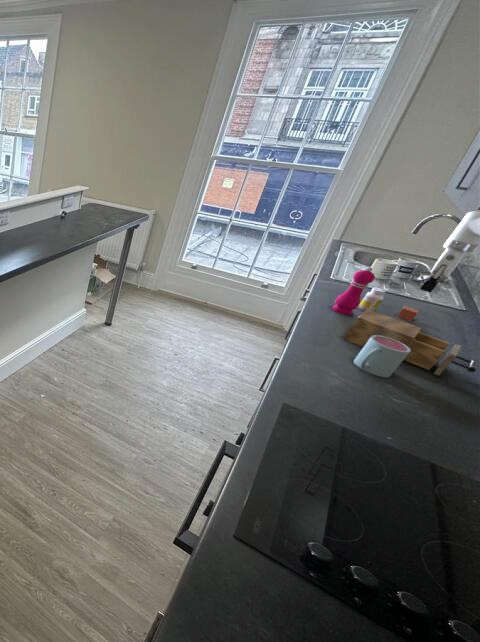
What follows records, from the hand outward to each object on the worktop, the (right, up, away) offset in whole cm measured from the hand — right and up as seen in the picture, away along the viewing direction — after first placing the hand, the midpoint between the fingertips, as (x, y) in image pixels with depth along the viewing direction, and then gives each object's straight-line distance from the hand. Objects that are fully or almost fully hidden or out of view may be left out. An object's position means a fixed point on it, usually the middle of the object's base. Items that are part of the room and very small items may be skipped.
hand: (425, 290), depth 157 cm
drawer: (-29, -26, -25) cm, 46 cm away
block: (-1, -11, +7) cm, 13 cm away
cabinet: (-37, -21, -15) cm, 45 cm away
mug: (-53, -28, -30) cm, 67 cm away
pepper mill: (-27, -9, +7) cm, 30 cm away
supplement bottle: (-14, -8, +10) cm, 19 cm away
